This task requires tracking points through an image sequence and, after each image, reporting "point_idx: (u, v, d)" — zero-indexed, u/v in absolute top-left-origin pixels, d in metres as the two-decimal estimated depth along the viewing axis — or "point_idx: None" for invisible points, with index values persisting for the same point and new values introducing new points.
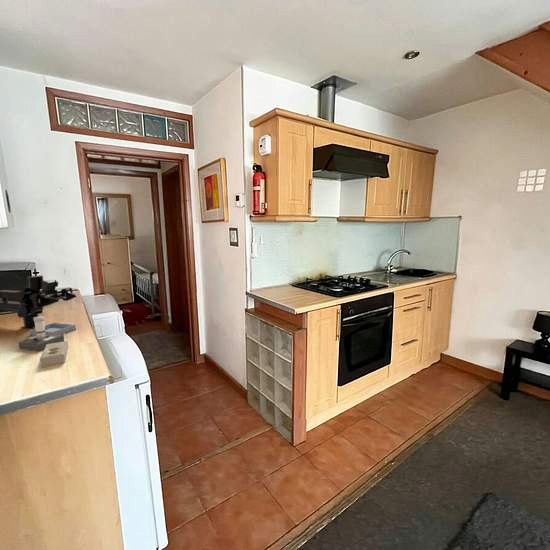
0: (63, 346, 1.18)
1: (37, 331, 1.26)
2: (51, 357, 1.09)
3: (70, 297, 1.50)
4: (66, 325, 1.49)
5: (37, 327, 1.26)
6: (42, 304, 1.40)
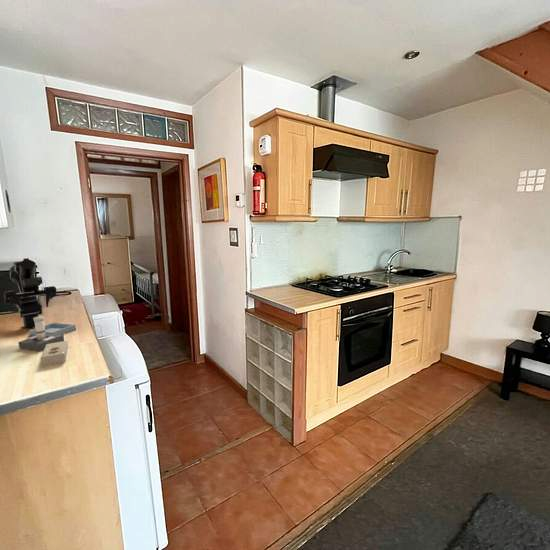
0: (63, 346, 1.18)
1: (37, 331, 1.26)
2: (52, 357, 1.09)
3: (46, 301, 1.41)
4: (66, 325, 1.49)
5: (37, 327, 1.26)
6: (11, 302, 1.34)
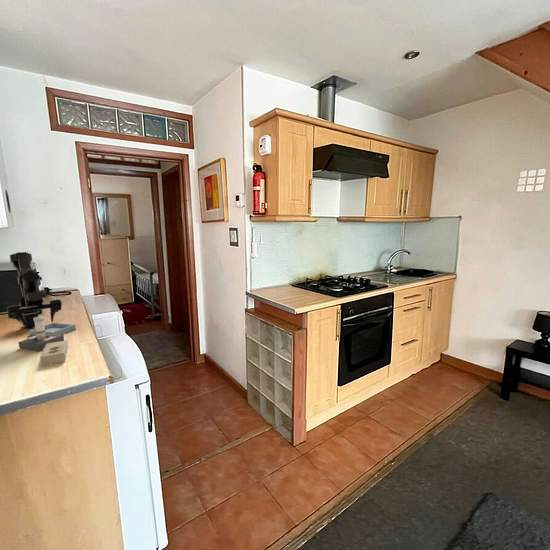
0: (63, 345, 1.19)
1: (37, 331, 1.26)
2: (52, 356, 1.10)
3: None
4: (66, 325, 1.49)
5: (37, 327, 1.26)
6: (14, 317, 1.27)
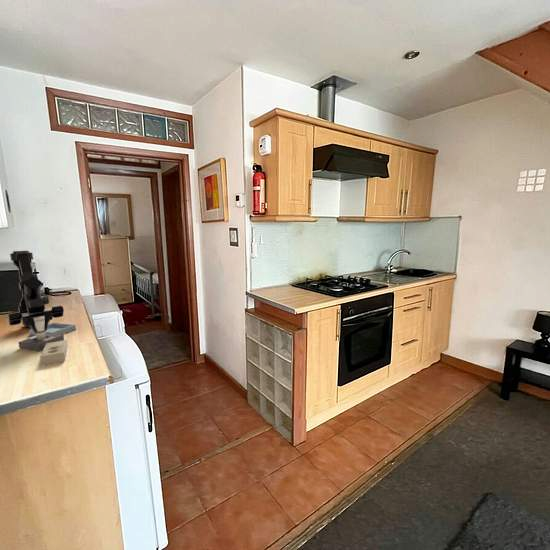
0: (63, 345, 1.19)
1: (37, 331, 1.26)
2: (51, 355, 1.10)
3: None
4: (66, 325, 1.49)
5: (37, 327, 1.26)
6: (24, 323, 1.27)
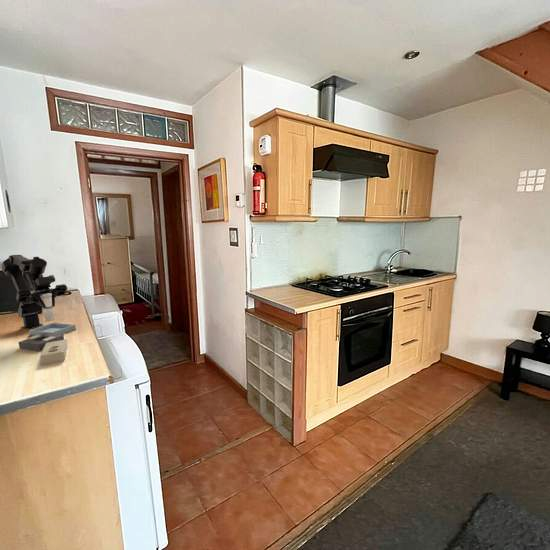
0: (63, 344, 1.20)
1: (46, 307, 1.36)
2: (51, 355, 1.11)
3: None
4: (66, 325, 1.49)
5: (46, 303, 1.36)
6: (31, 300, 1.36)
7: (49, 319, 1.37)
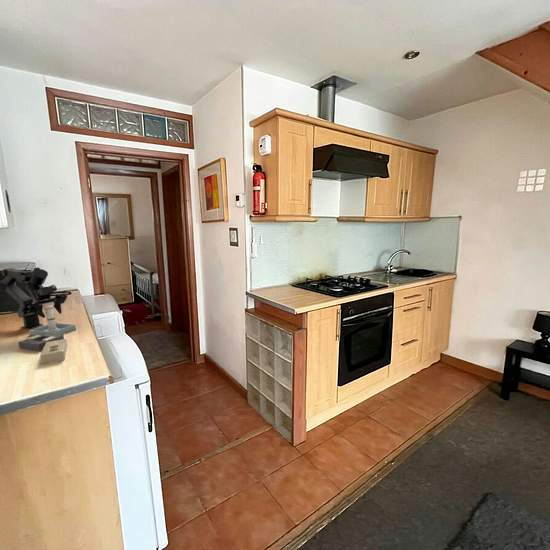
0: (62, 344, 1.20)
1: (49, 318, 1.43)
2: (51, 354, 1.12)
3: (57, 308, 1.48)
4: (66, 325, 1.49)
5: (49, 315, 1.42)
6: (30, 310, 1.39)
7: (53, 330, 1.44)
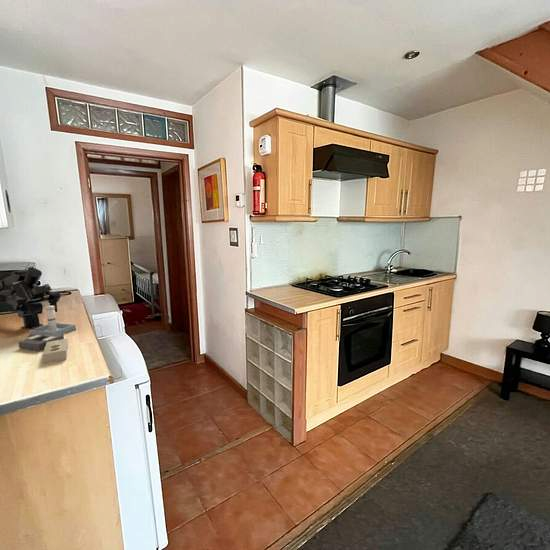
0: (64, 343, 1.21)
1: (50, 318, 1.42)
2: (53, 354, 1.12)
3: None
4: (66, 325, 1.49)
5: (50, 315, 1.42)
6: (21, 309, 1.41)
7: (53, 330, 1.44)
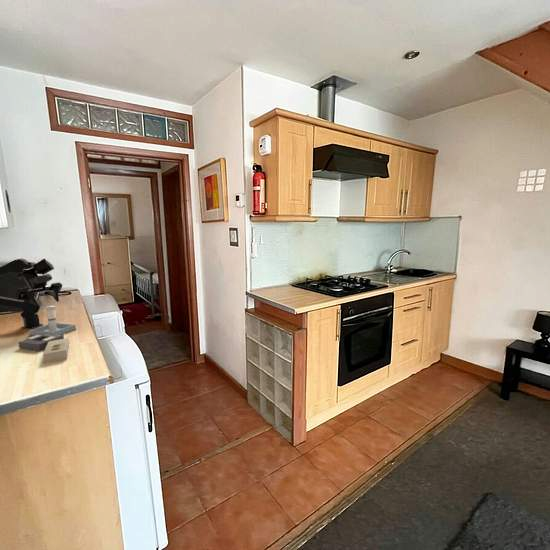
0: (65, 343, 1.21)
1: (50, 318, 1.42)
2: (54, 353, 1.13)
3: (54, 297, 1.52)
4: (66, 325, 1.49)
5: (51, 315, 1.42)
6: (23, 298, 1.42)
7: (53, 330, 1.44)
